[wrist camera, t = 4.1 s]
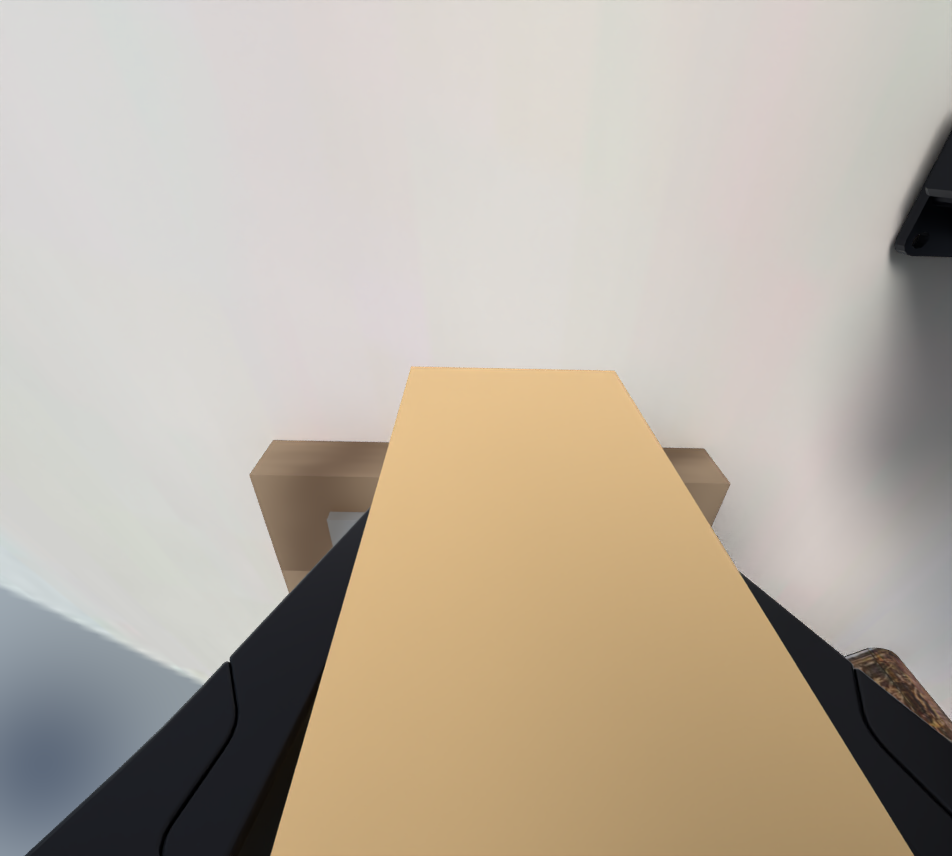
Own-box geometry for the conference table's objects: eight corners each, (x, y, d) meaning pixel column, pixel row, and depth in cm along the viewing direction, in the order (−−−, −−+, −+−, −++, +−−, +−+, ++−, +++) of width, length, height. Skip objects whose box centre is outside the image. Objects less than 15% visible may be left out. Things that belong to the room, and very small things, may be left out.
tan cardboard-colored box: (614, 370, 9) (1115, 1184, 2) (582, 517, 11) (761, 1136, 4) (411, 366, 8) (174, 1192, 2) (420, 515, 11) (329, 1138, 4)
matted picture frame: (704, 448, 20) (736, 491, 18) (623, 659, 30) (636, 706, 28) (273, 440, 20) (243, 482, 17) (333, 655, 30) (320, 702, 27)
